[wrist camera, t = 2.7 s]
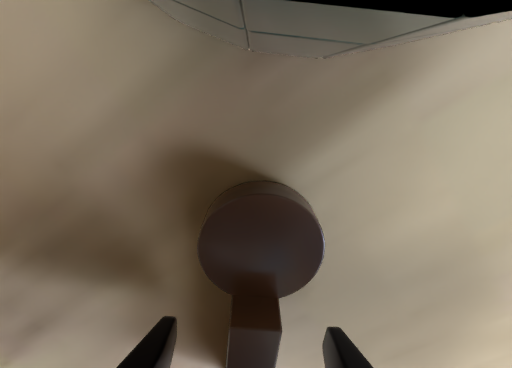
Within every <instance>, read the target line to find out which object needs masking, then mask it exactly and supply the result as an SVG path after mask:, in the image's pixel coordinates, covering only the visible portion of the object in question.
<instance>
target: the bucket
mask: <svg viewBox="0 0 512 368" xmlns="http://www.w3.org/2000/svg"><path fill="white" fill-rule="evenodd" d="M149 1H150V2H151V3H153V4H154V5H155V6H157V7H158V8H159V9H161V10H162V11H164V12H165V13H166V14H168V15H169V16H170V17H172V18H173V19H175V20H177V21H178V22H180V23H182V24H184V25H187V26H189V27H192V28H194V29H196V30H199V31H201V32H204V33H206V34H208V35H211V36H213V37H215V38H218V39H220V40H223V41H225V42H227V43H230V44H232V45H235V46H237V47H239V48H242V49H244V50H248V49H250V50H251V51H252V52H261V53H270V54H279V55H288V56H297V57H306V58H315V59H317V58H321V57H322V58H324V59H325V58H330V57H336V56H341V55H347V54H353V53H358V52H364V51H369V50H375V49H381V48H386V47H392V46H396V45H400V44H405V43H409V42H413V41H418V40H422V39H427V38H431V37H435V36H440V35H444V34H448V33H453V32H457V31H462V30H466V29H470V28H475V27H479V26H483V25H488V24H491V23H496V22H501V21H506V20H510V19H512V0H149Z"/></svg>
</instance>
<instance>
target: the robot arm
mask: <svg viewBox="0 0 512 368" xmlns="http://www.w3.org/2000/svg"><path fill="white" fill-rule="evenodd" d="M176 337H177V319H176V317H174V316H164V317H162V318H161V320H160V321H159V322H158V323H157V324H156V325H155V326H154V327H153V328H152V329H151V330H150V332H149V333H148V334H147V335H146V336H145V337H144V338H143V339H142V340H141V341H140V342H139V344H138V345H137V346H136V347H135V348H134V349H133V350H132V351H131V352H130V353H129V354H128V356H127V357H126V358H125V359H124V360H123V361H122V362H121V363H120V364H119V365H118V366H117V368H170V365H171V361H172V356H173V352H174V347H175V343H176ZM323 356H324V363H325V368H373V367H372V365H371V364H370V363H369V362H368V361H367V359H366V358H365V357H364V356H363V355H362V353H361V352H360V351H359V350H358V349H357V347H356V346H355V345H354V344H353V343H352V341H351V340H350V339H349V338H348V337H347V335H346V334H345V333H344V332H343V331H342V329H340V328H339V327H328V328H327V330H326V333H325V337H324V341H323Z"/></svg>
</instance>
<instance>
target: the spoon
mask: <svg viewBox="0 0 512 368" xmlns="http://www.w3.org/2000/svg"><path fill="white" fill-rule="evenodd" d="M197 251H198V257H199V261H200V264H201V266H202V268H203V270H204V272H205V274H206V275H207V276H208V278H209V279H210V280H211V281H212V282H213V283H214V284H215V285H216V286H218V287H219V288H220V289H222V290H223V291H225V292H227V293H229V294H231V295H232V303H231V313H230V323H229V334H228V346H227V358H226V368H275V366H276V361H277V356H278V350H279V345H280V340H281V334H282V325H281V316H280V307H279V298H281V297H285V296H287V295H290V294H292V293H294V292H296V291H298V290H299V289H301V288H302V287H304V286H305V285H306V284H307V283H308V282H309V281H310V280H311V279H312V278H313V277H314V276H315V274H316V273H317V271H318V270H319V268H320V266H321V263H322V260H323V257H324V251H325V240H324V235H323V232H322V228H321V226H320V224H319V222H318V220H317V217H316V215H315V213H314V211H313V209H312V207H311V206H310V204H309V203H308V202H307V201H306V200H305V199H304V197H303V196H301V195H300V194H299V193H297V192H296V191H294V190H293V189H291V188H289V187H287V186H284V185H282V184H278V183H274V182H267V181H256V182H248V183H244V184H241V185H238V186H235V187H233V188H231V189H229V190H227V191H226V192H224V193H223V194H222V195H220V196H219V197H218V198H217V199H216V200H215V201H214V203H213V204H212V205H211V207H210V208H209V210H208V212H207V214H206V216H205V219H204V222H203V224H202V227H201V230H200V233H199V237H198V244H197Z"/></svg>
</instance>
